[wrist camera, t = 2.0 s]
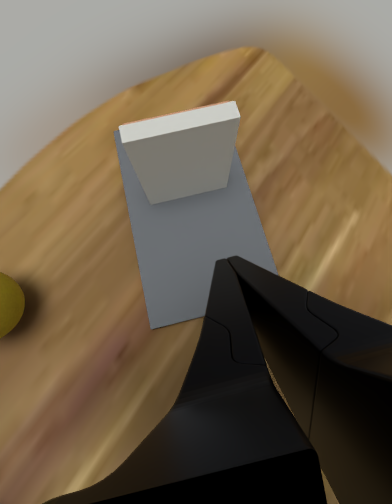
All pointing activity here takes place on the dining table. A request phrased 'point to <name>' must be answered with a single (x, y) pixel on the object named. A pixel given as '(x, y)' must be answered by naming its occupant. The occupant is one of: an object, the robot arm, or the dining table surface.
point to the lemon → (10, 304)
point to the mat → (190, 241)
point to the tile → (183, 150)
